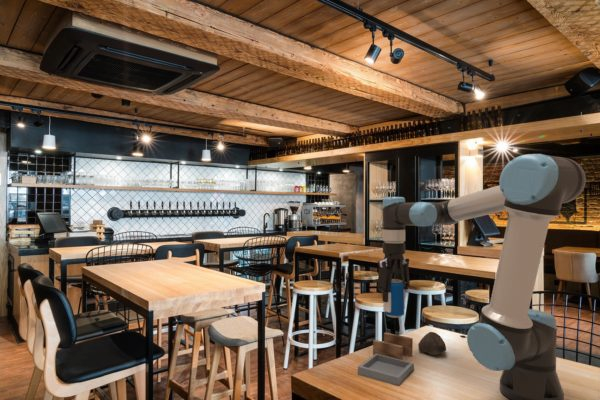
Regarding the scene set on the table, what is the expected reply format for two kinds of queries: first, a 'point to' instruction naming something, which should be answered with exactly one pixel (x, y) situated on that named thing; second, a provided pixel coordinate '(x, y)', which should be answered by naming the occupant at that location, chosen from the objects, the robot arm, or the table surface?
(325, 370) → the table surface
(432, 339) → the stone
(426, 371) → the table surface
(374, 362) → the tray
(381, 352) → the cradle
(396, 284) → the beverage can
